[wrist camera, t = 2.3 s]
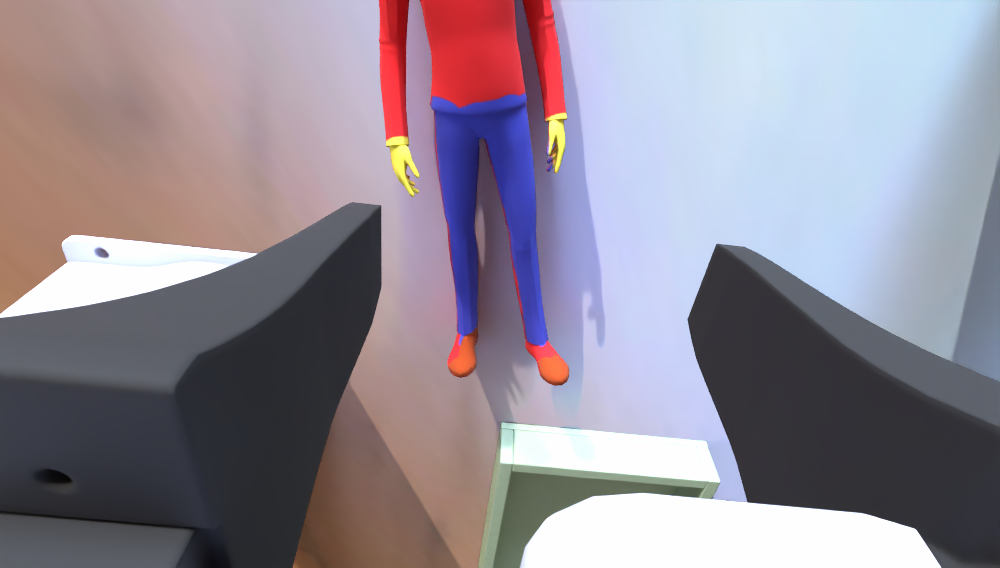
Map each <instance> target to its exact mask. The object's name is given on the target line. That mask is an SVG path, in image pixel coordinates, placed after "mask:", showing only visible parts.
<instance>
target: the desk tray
mask: <svg viewBox="0 0 1000 568" xmlns="http://www.w3.org/2000/svg"><path fill="white" fill-rule="evenodd" d="M719 484H720V479H719V477H718V474H717V471H716V469H715V466H714V463H713V460H712V458H711V455H710V452H709V449H708V446H707V443H706V441H697V440H686V439H676V438H665V437H654V436H643V435H632V434H622V433H611V432H600V431H589V430H579V429H568V428H557V427H546V426H536V425H525V424H514V423H503V422H502V423H501V427H500V433H499V439H498V446H497V452H496V458H495V464H494V471H493V477H492V483H491V489H490V495H489V502H488V508H487V514H486V520H485V527H484V533H483V539H482V545H481V552H480V558H479V564H478V568H520V565H521V561H522V557H523V553H524V549H525V546H526V545H527V544H528V542H529V541H530V540H531V538H532V537H533V536H534V534H535V533H536V532H537V530H538V529H539V528H540V526H541V525H542V524H543V522H544V521H545V520H546V519H547V518H548V517H550V516H551V515H552V514H554V513H556V512H559V511H561V510H563V509H565V508H568V507H570V506H572V505H575V504H577V503H579V502H581V501H584V500H586V499H588V498H591V497H593V496H607V495H621V494H635V493H647V494H658V495H669V496H680V497H691V498H702V499H712V497H713V495H714V493H715V492H716V490H717V488H718V486H719Z"/></svg>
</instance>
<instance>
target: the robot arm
mask: <svg viewBox="0 0 1000 568" xmlns="http://www.w3.org/2000/svg"><path fill="white" fill-rule="evenodd" d="M101 248H103V249H104V250H106V251H107V252H108V254H107V253H105V252H104V251H103V250H102V249H101ZM62 249H63V251H64V254H65V257H66V259H67V262H68V263H66V264H65V265H64V266H62V267H61V268H60V269H58V270H57V271H56V272H54V273H53V274H52V275H51V276H49V277H48V278H47V279H45V280H44V281H43V282H42V283H40V284H39V285H38V286H36V287H35V288H34V289H32V290H31V291H30V292H29V293H27V294H26V295H25V296H23V297H22V298H21V299H20V300H18V301H17V302H16V303H14V304H13V305H12V306H10V307H9V308H8V309H7V310H5V311H4V312H3V313H1V314H0V568H293V564H294V560H295V556H296V552H297V548H298V544H299V540H300V536H301V532H302V528H303V524H304V520H305V516H306V512H307V509H308V505H309V501H310V498H311V494H312V490H313V487H314V483H315V479H316V476H317V472H318V468H319V465H320V461H321V458H322V454H323V451H324V447H325V444H326V440H327V437H328V434H329V430H330V427H331V423H332V420H333V418H334V415H335V412H336V409H337V407H338V404H339V402H340V399H341V397H342V394H343V392H344V390H345V387H346V385H347V383H348V380H349V378H350V375H351V373H352V371H353V368H354V366H355V364H356V361H357V359H358V356H359V354H360V352H361V349H362V347H363V344H364V342H365V340H366V337H367V335H368V332H369V330H370V327H371V325H372V322H373V318H374V314H375V310H376V307H377V302H378V298H379V294H380V290H381V206H380V205H372V204H363V203H354V202H352V203H349V204H347V205H345V206H343V207H342V208H340V209H338V210H336V211H335V212H333V213H331V214H330V215H328V216H326V217H325V218H323V219H321V220H320V221H318V222H316V223H314V224H313V225H311V226H309V227H308V228H306V229H304V230H302V231H301V232H299V233H297V234H295V235H294V236H292V237H290V238H288V239H286V240H284V241H282V242H280V243H278V244H276V245H274V246H272V247H270V248H268V249H266V250H264V251H262V252H260V253H258V254H254V253H244V252H235V251H225V250H215V249H206V248H196V247H187V246H177V245H167V244H158V243H148V242H138V241H129V240H119V239H110V238H100V237H90V236H81V235H72V236H70V237H69V238H67V239H66V240H64V241H63V243H62ZM688 324H689V329H690V334H691V339H692V343H693V347H694V351H695V356H696V359H697V362H698V364H699V367H700V369H701V372H702V375H703V377H704V380H705V382H706V385H707V387H708V390H709V392H710V395H711V397H712V400H713V402H714V405H715V407H716V409H717V412H718V414H719V417H720V419H721V422H722V424H723V427H724V429H725V432H726V434H727V437H728V439H729V442H730V444H731V447H732V450H733V453H734V456H735V459H736V462H737V465H738V469H739V472H740V476H741V480H742V483H743V487H744V491H745V494H746V498H747V502H748V503H745V502H734V501H724V500H713V499H702V498H691V497H680V496H669V495H658V494H647V493H635V494H621V495H607V496H593V497H591V498H588V499H586V500H584V501H581V502H579V503H577V504H575V505H572V506H570V507H568V508H565V509H563V510H561V511H559V512H556V513H554V514H552V515H551V516H550V517H548V518H547V519H546V520H545V521H544V522H543V524H542V525H541V526H540V528H539V529H538V530H537V532H536V533H535V534H534V536H533V537H532V538H531V540H530V541H529V542H528V544H527V545H526V546H525V549H524V553H523V557H522V561H521V565H520V568H1000V382H999V381H997V380H994V379H992V378H989V377H987V376H984V375H982V374H979V373H977V372H975V371H972V370H970V369H967V368H965V367H962V366H960V365H958V364H955V363H953V362H950V361H948V360H946V359H944V358H942V357H939V356H937V355H935V354H933V353H930V352H928V351H926V350H924V349H922V348H920V347H918V346H916V345H914V344H912V343H910V342H908V341H906V340H904V339H902V338H900V337H898V336H896V335H894V334H892V333H890V332H888V331H886V330H884V329H882V328H880V327H878V326H877V325H875V324H873V323H871V322H869V321H868V320H866V319H864V318H862V317H861V316H859V315H857V314H856V313H854V312H852V311H850V310H849V309H847V308H845V307H843V306H842V305H840V304H839V303H837V302H835V301H834V300H832V299H830V298H829V297H827V296H825V295H824V294H822V293H821V292H819V291H818V290H816V289H814V288H813V287H811V286H810V285H808V284H806V283H805V282H803V281H802V280H800V279H799V278H797V277H796V276H794V275H792V274H791V273H789V272H788V271H786V270H785V269H783V268H781V267H780V266H778V265H777V264H775V263H773V262H772V261H770V260H768V259H767V258H765V257H763V256H762V255H760V254H758V253H756V252H754V251H752V250H750V249H748V248H745V247H740V246H731V245H722V244H716V247H715V249H714V252H713V254H712V257H711V260H710V262H709V265H708V267H707V270H706V273H705V275H704V278H703V281H702V283H701V286H700V288H699V291H698V294H697V296H696V299H695V301H694V304H693V307H692V309H691V312H690V314H689V317H688Z"/></svg>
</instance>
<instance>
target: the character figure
mask: <svg viewBox="0 0 1000 568" xmlns="http://www.w3.org/2000/svg"><path fill="white" fill-rule="evenodd" d="M522 1H523V5H524V9H525V13H526V18H527V22H528V26H529V30H530V35H531V40H532V45H533V49H534V54H535V59H536V63H537V69H538V74H539V80H540V85H541V92H542V100H543V108H544V117H545V122H549V125H548V136H549V140H548V145H547V152H546V154H547V156H549V155H550V156H551V155H552V156H551V157H550V158H549V159H548V160H547V163H548V164H549V163H550V162H552V161H553V160H554V159H555V160H554V161H553V162H552V163H551V165H550V166H549V167H548V168H547V171H548V172H549V171H550V170H551V169H553V168H554V167H555V169H554V172H555V173H557V172H558V170H559V167H560V164H561V161H562V156H563V154H564V151H565V132H564V120H566V119H567V115H566V108H565V101H564V90H563V80H562V69H561V58H560V51H559V44H558V38H557V34H556V29H555V21H554V17H553V15H554V13H553V11H552V6H551V1H550V0H522ZM420 2H421V6H422V9H423V15H424V21H425V26H426V31H427V36H428V40H429V45H430V49H431V55H432V88H431V102H430V106H431V108H432V109H433V110H434V122H435V145H436V157H437V166H438V174H439V181H440V187H441V194H442V201H443V207H444V213H445V218H446V222H447V228H448V242H449V252H450V260H451V266H452V271H453V277H454V284H455V293H456V305H457V332H458V334H457V337H456V340H455V343H454V346H453V349H452V351H451V353H450V355H449V358H448V368H449V370H450V372H451V373H452V374H453V375H454V376H456V377H460V378H461V377H466V376H468V375H469V374H471V373H472V372H473V370H474V369H475V367H476V356H475V349H474V348H475V345H476V343H477V339H478V329H477V328H478V312H477V303H478V254H477V243H476V236H475V227H474V222H475V207H476V194H477V181H478V169H479V139H481V138H484V140H485V144H486V148H487V152H488V156H489V159H490V163H491V166H492V170H493V174H494V177H495V180H496V184H497V188H498V192H499V196H500V200H501V204H502V208H503V212H504V217H505V222H506V225H507V229H508V234H509V242H510V252H511V260H512V267H513V273H514V279H515V284H516V290H517V295H518V300H519V305H520V311H521V316H522V321H523V328H524V335H525V339H526V341H525V347H526V349H527V350H528V352H529V353H530V354H531V355H532V356H533V357H534V358H535V359H536V361H537V364H538V368H539V372H540V376H541V377H542V378H543V379H544V380H545V381H546V382H548V383H549V384H552V385H554V386H556V385H563V384H564V383H566V382H567V380H568V377H569V367H568V365H567V364H566V363H565V361H564V360H563V359H562V358H561V357H560V356H559V355H558V353H557V352H556V351H555V350H554V349H553V347H552V346H551V345H550V343H549V342H548V335H547V330H546V324H545V318H544V311H543V305H542V297H541V286H540V275H539V264H538V253H537V243H536V193H535V177H534V164H533V154H532V148H531V141H530V132H529V123H528V116H527V108H526V101H527V97H526V93H525V87H524V80H523V72H522V65H521V58H520V52H519V48H518V43H517V36H516V19H515V4H514V0H420ZM379 7H380V38H379V42H380V79H381V91H382V101H383V110H384V120H385V130H386V146H387V147H390V153H391V161H392V166H393V170H394V172H395V174H396V176H397V178H398V180H399V181H400V182H401V183H402V184H403V186H405V188H406V189H407V191H408V192H409V194H410V195H411V196H412V197H414V193H413V192H415V193H419V191H418V190H417V189H416V188H414V187H413V186H414V185H415V183H414V182H412V181H411V180H409V178H410V177H409V176H408V175H406V169H407V165H408V166H409V167H410V168H411V170H412V172H413V173H414V175H415V176H416V177H418V178H419V173H418V171H417V169H416V167H415V165H414V163H413V161H412V157H411V154H410V151H409V149H408V147H407V146H409V139H408V126H407V112H406V40H407V23H408V9H409V0H379ZM553 143H555V147H554V148H553V150H552V146H553ZM551 150H552V151H551ZM411 185H412V186H411Z"/></svg>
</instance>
